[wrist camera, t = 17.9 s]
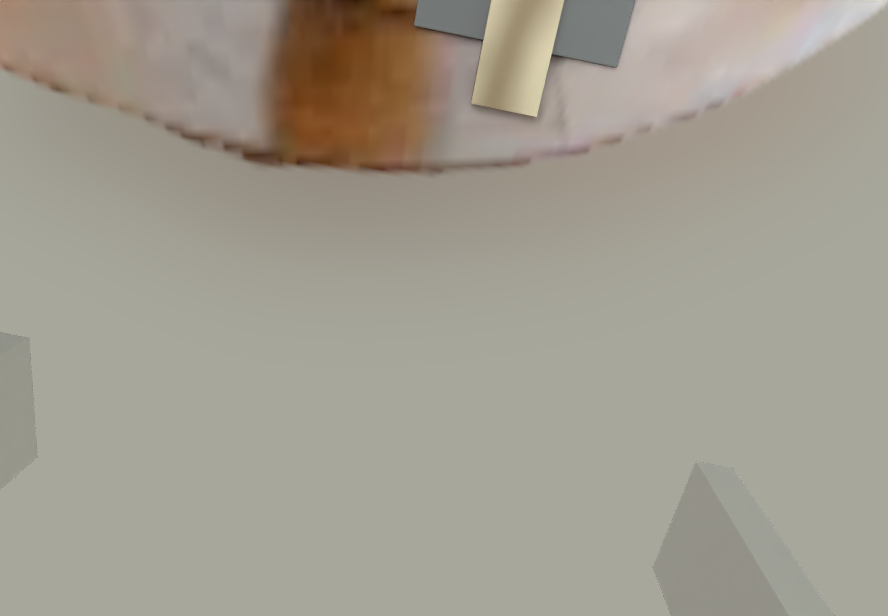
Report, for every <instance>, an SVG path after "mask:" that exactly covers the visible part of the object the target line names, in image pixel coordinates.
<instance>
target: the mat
mask: <svg viewBox="0 0 888 616" xmlns="http://www.w3.org/2000/svg"><path fill="white" fill-rule="evenodd" d="M490 3H491V0H418V4H417V11H416V17H415V24H414V26H417V27H422V28H427V29H432V30H437V31H442V32H446V33H451V34H456V35H461V36H466V37H471V38H475V39H480V40H483V39H484V34H485V28H486V23H487V18H488V13H489V8H490ZM634 4H635V0H564V3H563V8H562V12H561V16H560V20H559V24H558V29H557V33H556V37H555V41H554V46H553V50H552V54H553V55H558V56H563V57H568V58H572V59H577V60H582V61H587V62H592V63H597V64H602V65H606V66H611V67H617V66H618V62H619V58H620V55H621V51H622V47H623V44H624V40H625V36H626V33H627V29H628V25H629V22H630V18H631V15H632V11H633V7H634Z"/></svg>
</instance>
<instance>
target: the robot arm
mask: <svg viewBox="0 0 888 616" xmlns="http://www.w3.org/2000/svg"><path fill="white" fill-rule="evenodd" d="M36 458H37V443H36V427H35V413H34V398H33V383H32V370H31V354H30V339H29V338H28V337H22V336H17V335H12V334H6V333H1V332H0V490H1V489H2V488H3V487H4V486H5V485H6V484H8V483H9V482H10V481H11V480H12V479H13V478H14V477H16V476H17V475H18V474H19V473H20V472H21V471H22V470H24V469H25V468H26V467H27V466H28V465H29V464H30V463H32V462H33V461H34V460H35V459H36ZM653 569H654V572H655V574H656V577H657V580H658V582H659V585H660V588H661V590H662V593H663V596H664V598H665V601H666V603H667V606H668V609H669V611H670V614H671V616H835V615H834V614H833V612H832V611H831V609H830V608H829V606H828V605H827V603H826V602H825V601H824V599H823V598H822V597H821V595H820V593H819V592H818V590H817V589H816V587H815V586H814V585H813V584H812V582H811V580H810V579H809V577H808V576H807V574H806V573H805V571H804V570H803V569H802V567H801V566H800V564H799V563H798V561H797V560H796V558H795V557H794V555H793V554H792V553H791V551H790V550H789V548H788V547H787V545H786V544H785V542H784V541H783V539H782V538H781V537H780V535H779V534H778V532H777V531H776V529H775V528H774V526H773V525H772V523H771V522H770V521H769V519H768V518H767V516H766V515H765V513H764V512H763V510H762V509H761V507H760V506H759V504H758V503H757V502H756V500H755V499H754V497H753V496H752V494H751V493H750V491H749V490H748V488H747V487H746V485H745V484H744V483H743V481H742V480H741V478H740V477H739V475H738V474H737V472H736V471H735V469H734V468H731V467H726V466H721V465H715V464H710V463H704V462H699V461H696V462H695V465H694V467H693V470H692V472H691V475H690V477H689V479H688V482H687V484H686V487H685V489H684V492H683V494H682V496H681V499H680V501H679V504H678V506H677V509H676V511H675V514H674V516H673V518H672V521H671V523H670V526H669V528H668V531H667V533H666V536H665V538H664V540H663V543H662V545H661V548H660V550H659V553H658V555H657V558H656V560H655V562H654V565H653Z"/></svg>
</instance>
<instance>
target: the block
mask: <svg viewBox="0 0 888 616" xmlns="http://www.w3.org/2000/svg"><path fill="white" fill-rule="evenodd" d="M563 3H564V0H491V3H490V8H489V13H488V18H487V23H486V28H485V34H484V39H483V44H482V49H481V54H480V59H479V64H478V69H477V74H476V80H475V85H474V90H473V95H472V100H471V104H475V105H480V106H485V107H490V108H495V109H500V110H505V111H510V112H515V113H520V114H525V115H529V116H534V117H537V114H538V109H539V105H540V101H541V97H542V92H543V88H544V84H545V80H546V75H547V71H548V67H549V63H550V58H551V54H552V50H553V46H554V41H555V37H556V33H557V29H558V24H559V20H560V16H561V12H562V8H563Z"/></svg>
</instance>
